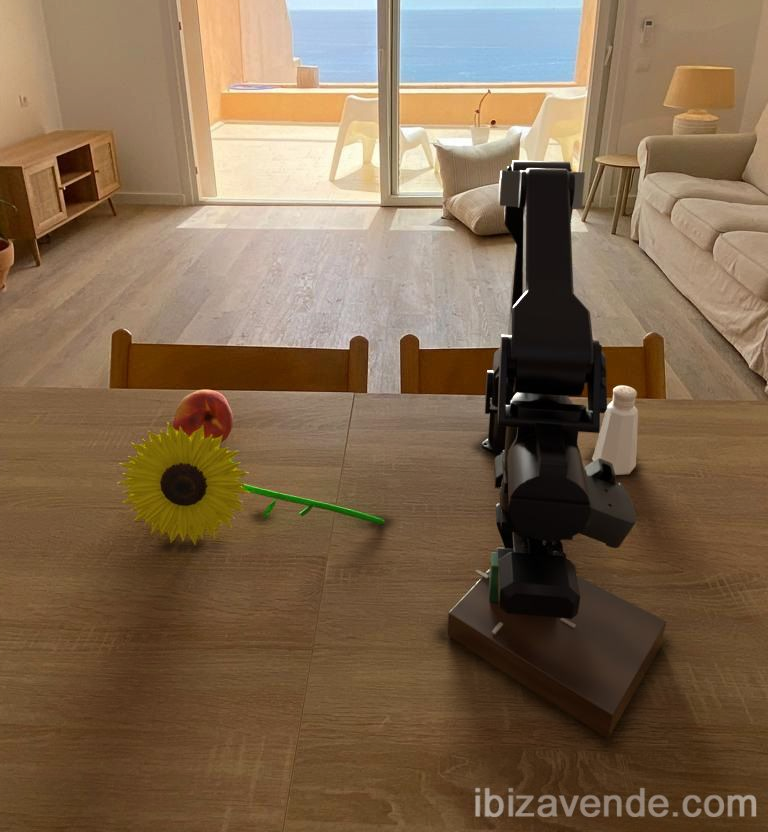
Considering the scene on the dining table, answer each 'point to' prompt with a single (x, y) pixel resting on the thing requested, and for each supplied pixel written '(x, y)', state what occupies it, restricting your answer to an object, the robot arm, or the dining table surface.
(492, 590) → the pointer knob
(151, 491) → the decorative plant
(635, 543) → the dining table surface
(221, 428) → the fruit
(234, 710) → the dining table surface
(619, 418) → the pepper shaker
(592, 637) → the dial panel
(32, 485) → the dining table surface
